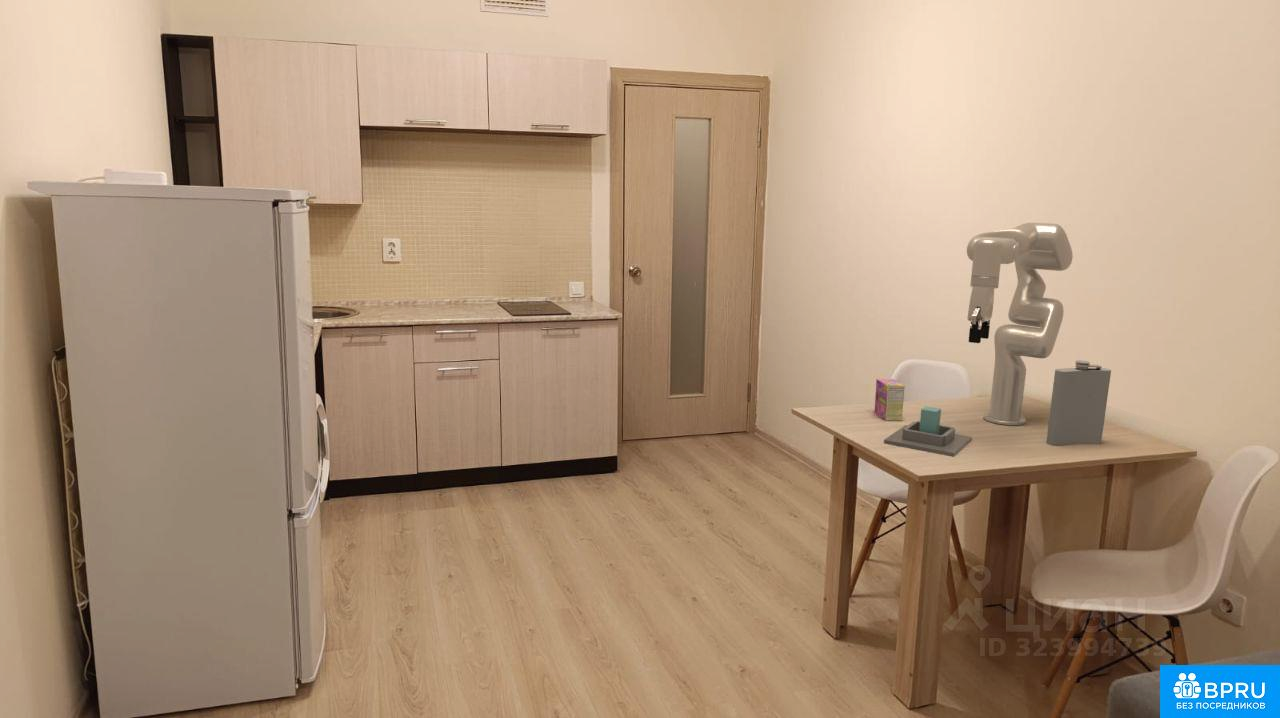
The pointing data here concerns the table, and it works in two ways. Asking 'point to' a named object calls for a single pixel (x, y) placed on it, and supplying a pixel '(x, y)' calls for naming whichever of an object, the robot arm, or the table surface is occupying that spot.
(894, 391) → the box
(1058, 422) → the flask
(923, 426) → the block
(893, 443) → the well
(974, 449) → the table surface
